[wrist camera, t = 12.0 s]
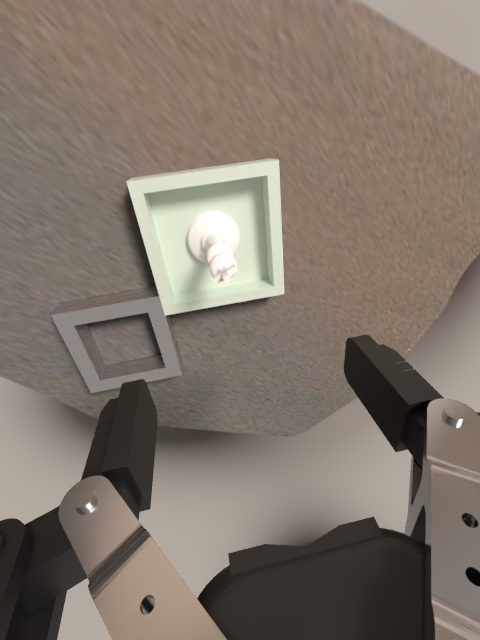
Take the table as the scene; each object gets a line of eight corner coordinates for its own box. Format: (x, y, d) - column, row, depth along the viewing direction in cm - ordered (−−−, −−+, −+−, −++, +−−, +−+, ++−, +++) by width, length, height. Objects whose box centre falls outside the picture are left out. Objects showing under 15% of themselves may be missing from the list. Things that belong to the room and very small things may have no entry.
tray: (131, 177, 25) (126, 181, 23) (270, 158, 26) (278, 159, 24) (166, 302, 32) (164, 315, 29) (276, 282, 33) (284, 294, 30)
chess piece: (248, 245, 29) (275, 287, 21) (206, 272, 30) (216, 323, 22) (221, 199, 27) (239, 226, 18) (176, 230, 27) (173, 269, 19)
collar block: (60, 302, 30) (50, 315, 28) (161, 285, 31) (159, 296, 28) (96, 377, 35) (91, 393, 33) (182, 361, 36) (182, 375, 34)
